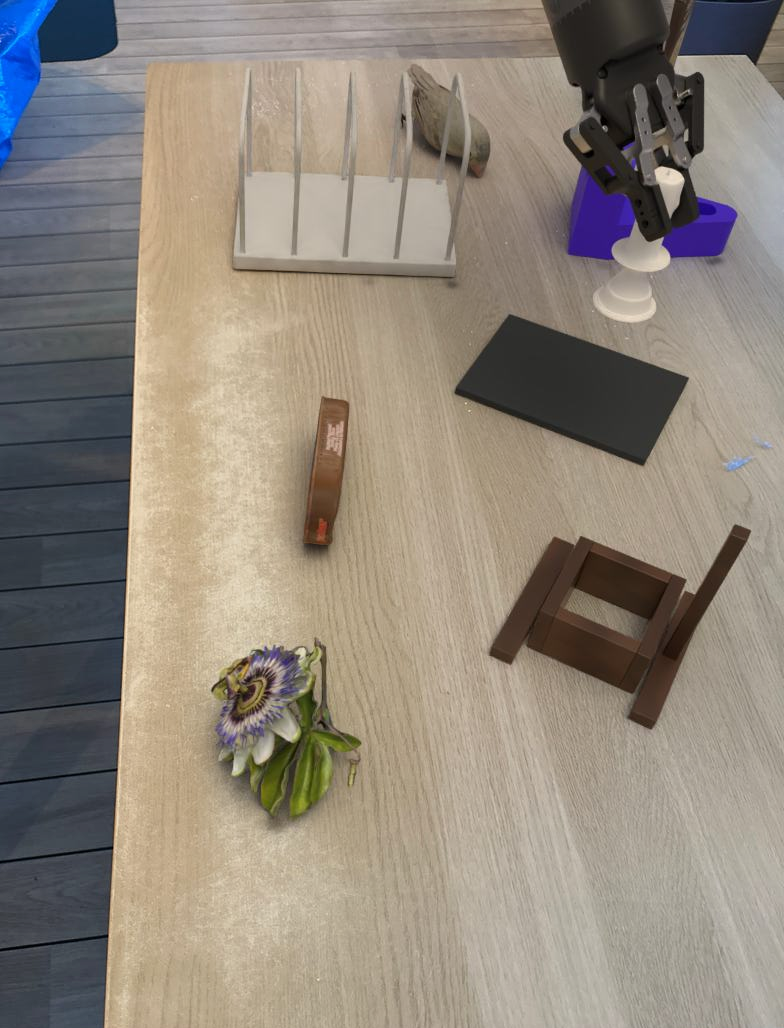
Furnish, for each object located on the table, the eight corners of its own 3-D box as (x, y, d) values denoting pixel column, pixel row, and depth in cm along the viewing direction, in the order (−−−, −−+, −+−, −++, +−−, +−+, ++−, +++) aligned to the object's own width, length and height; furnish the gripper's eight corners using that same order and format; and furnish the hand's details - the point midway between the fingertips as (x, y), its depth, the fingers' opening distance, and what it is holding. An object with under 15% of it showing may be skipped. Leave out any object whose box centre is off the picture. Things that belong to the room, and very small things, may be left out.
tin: (314, 444, 96) (317, 374, 89) (347, 447, 96) (352, 377, 89) (299, 563, 87) (302, 496, 80) (335, 566, 87) (340, 500, 80)
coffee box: (645, 136, 131) (687, 2, 118) (599, 124, 133) (634, -10, 119) (663, 106, 136) (704, -26, 123) (617, 94, 137) (653, -37, 124)
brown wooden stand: (702, 608, 85) (780, 475, 72) (651, 729, 78) (727, 606, 65) (551, 544, 89) (598, 407, 76) (488, 654, 82) (529, 524, 69)
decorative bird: (464, 185, 123) (474, 124, 117) (388, 127, 131) (394, 68, 125) (498, 173, 125) (509, 113, 119) (421, 117, 133) (428, 57, 126)
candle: (644, 331, 82) (695, 195, 72) (583, 310, 83) (625, 173, 74) (663, 297, 85) (715, 161, 75) (604, 277, 86) (647, 141, 76)
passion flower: (240, 767, 81) (217, 630, 77) (372, 758, 80) (356, 617, 76) (215, 840, 71) (187, 685, 67) (366, 831, 69) (347, 672, 65)
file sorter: (233, 271, 112) (227, 133, 99) (240, 186, 122) (237, 51, 109) (455, 278, 112) (478, 141, 99) (444, 193, 122) (464, 59, 109)
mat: (686, 383, 102) (689, 377, 102) (643, 466, 95) (646, 460, 95) (508, 319, 108) (509, 313, 107) (454, 393, 101) (455, 387, 100)
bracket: (567, 254, 115) (594, 154, 106) (571, 202, 121) (597, 105, 112) (725, 275, 113) (767, 177, 104) (721, 223, 120) (760, 125, 110)
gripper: (568, -6, 66) (651, 247, 71) (702, -54, 71) (771, 185, 76) (498, 47, 73) (577, 275, 77) (625, 0, 78) (693, 217, 83)
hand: (673, 229), depth 77 cm, fingers closed on candle, 2 cm apart
